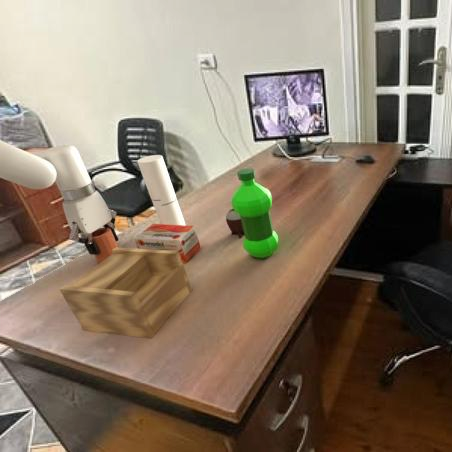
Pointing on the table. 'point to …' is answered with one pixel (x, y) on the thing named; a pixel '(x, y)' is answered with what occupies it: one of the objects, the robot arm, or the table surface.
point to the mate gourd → (234, 222)
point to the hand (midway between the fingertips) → (104, 246)
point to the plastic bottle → (255, 215)
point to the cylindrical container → (161, 190)
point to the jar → (104, 243)
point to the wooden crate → (129, 292)
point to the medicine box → (170, 239)
